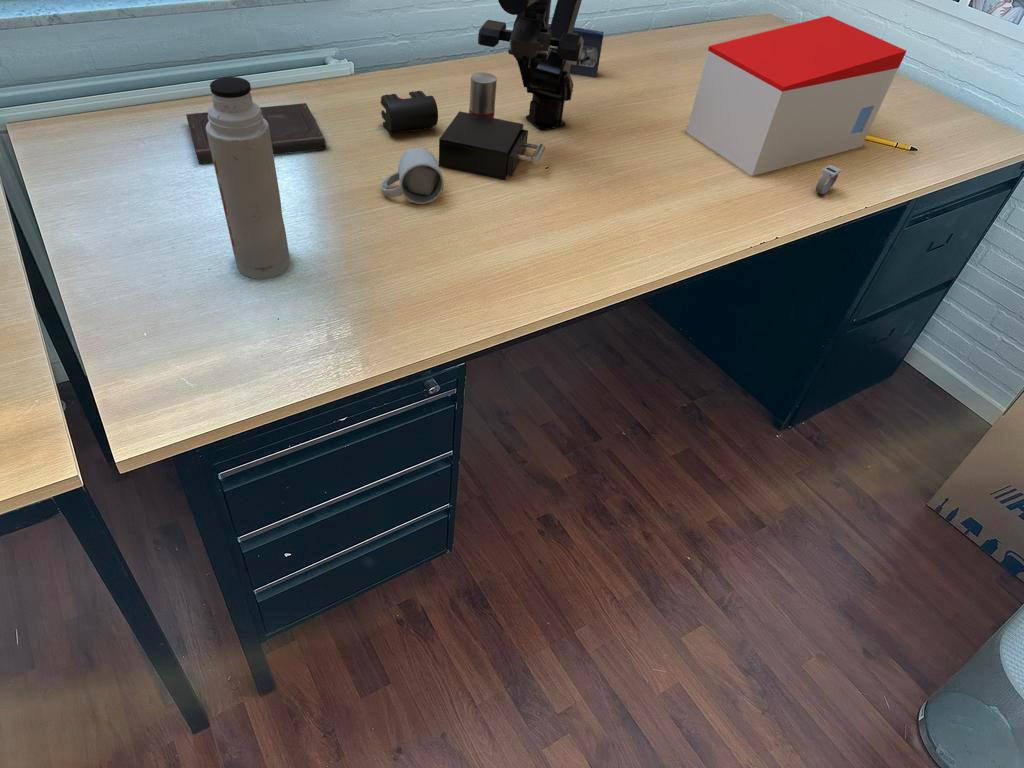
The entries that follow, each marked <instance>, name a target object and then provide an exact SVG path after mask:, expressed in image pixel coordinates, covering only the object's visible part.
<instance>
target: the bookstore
mask: <svg viewBox="0 0 1024 768" xmlns="http://www.w3.org/2000/svg"><path fill="white" fill-rule="evenodd" d="M906 53H907V49H904V48H902V47H900V46H898V45H896V44H893V43H891V42H888V41H886V40H884V39H882V38H881V37H880V38H879V37H877V36H875V35H873V34H871V33H868V32H866V31H864V30H861V29H859V28H858V27H855V26H853V25H850V24H848V23H846V22H844V21H841V20H840V19H837V18H835V17H833V16H830V15H825V16H822V17H818V18H814V19H810V20H806V21H802V22H798V23H794V24H791V25H786V26H782V27H779V28H773V29H771V30H770V29H769V30H766V31H763V32H762V31H761V32H759V33H755V34H751V35H747V36H742V37H739V38H734V39H731V40H728V41H727V40H726V41H722V42H719V43H715V44H712V45H708V48H707V53H706V57H705V60H704V65H703V69H702V72H701V75H700V79H699V83H698V87H697V90H696V94H695V97H694V101H693V105H692V108H691V112H690V114H689V115H690V116H689V120H688V122H687V127H686V130H685V133H686V134H688V135H690V136H691V137H692V138H694V139H695V140H697V141H699V142H700V143H702V144H703V145H705V147H707V148H709V149H710V150H712V151H714V152H715V153H716V154H718V155H719V156H721V157H722V158H724V159H725V160H726V161H729V162H730V163H731V164H733V165H734V166H736V167H737V168H739V169H740V170H742V171H743V172H745V174H747V175H749V176H750V177H754V176H759V175H762V174H765V173H769V172H773V171H776V170H781V169H784V168H788V167H791V166H796V165H799V164H803V163H806V162H810V161H813V160H817V159H822V158H825V157H828V156H833V155H836V154H840V153H843V152H847V151H851V150H855V149H859V148H862V147H863V145H864V143H865V140H866V138H867V136H868V134H869V132H870V129H871V128H872V125H873V123H874V122H875V118H876V117H877V115H878V113H879V111H880V108H881V106H882V104H883V102H884V100H885V97H886V95H887V93H888V91H889V89H890V87H891V85H892V82H893V80H894V78H895V76H896V74H897V72H898V69H899V68H900V66H901V65H902V62H903V60H904V58H905V55H906Z"/></svg>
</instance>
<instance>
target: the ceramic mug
mask: <svg viewBox="0 0 1024 768" xmlns="http://www.w3.org/2000/svg"><path fill="white" fill-rule="evenodd" d="M397 166H398V167H397V172H394V173H392V174H390V175H388V176H387V177H386V178H385V179H384V180H383V181H382V183H381V185H380V189H381V192H382V193H383V195H384V196H385V198H396V197H400V196H403V197H404V198H405V199H406V200H407V201H409V202H411V203H413V204H418V205H426V204H430V203H432V202H433V201H435V200H437V199H438V197H439V196H440V195H441V193H442V191H443V190H444V183H445V182H444V176H443V173H442V170H441V167H439V161H438V160H437V158H436V156H435V155H434V154H433V153H432V152H431V151H430V150H428V149H426V148H423V147H413V148H410V149H408V150H406V151H405V152H404V153H403V154H402V155H401V157H400V159H399V162H398V165H397ZM398 181H399V186H397V187H394V188H390V186H391V185H393V184H395V183H396V182H398Z"/></svg>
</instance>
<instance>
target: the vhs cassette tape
mask: <svg viewBox="0 0 1024 768" xmlns="http://www.w3.org/2000/svg"><path fill="white" fill-rule="evenodd" d="M550 25H551V23H549V25H548V28H549V29H550ZM572 34H575V35H581V36H582V38H583V40H584V42H583V49H582V52H581V55H580V57H579V60H578V61H570V63H571V68H570V72H569V73H570V75H575V76H584V77H591V78H597V76H598V71H599V65H600V58H601V54H602V47H603V42H604V41H603V40H604V34H605V32H604V31H603V30H602V31H600V30H595V29H587V28H581V27H575V26H574V29H573V33H572ZM530 62H531V58H529V64H530Z"/></svg>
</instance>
